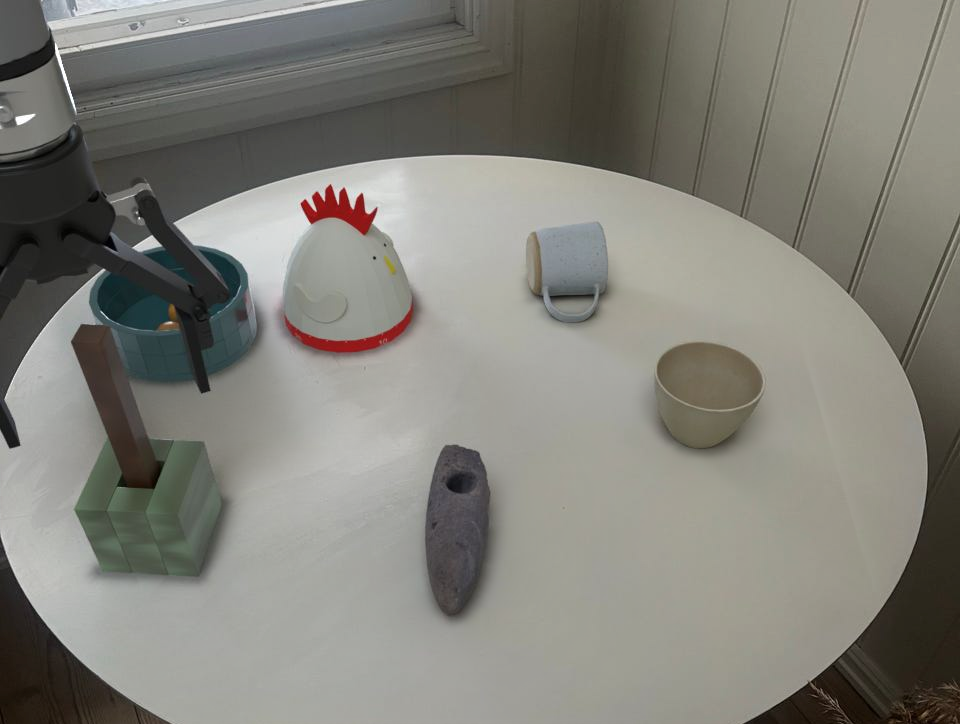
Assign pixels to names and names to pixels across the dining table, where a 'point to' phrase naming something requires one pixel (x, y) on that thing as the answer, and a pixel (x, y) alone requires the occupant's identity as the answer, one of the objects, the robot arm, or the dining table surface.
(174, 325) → the bead
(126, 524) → the holder
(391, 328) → the kitchen timer
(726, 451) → the dining table surface
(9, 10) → the robot arm
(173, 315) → the bead
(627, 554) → the dining table surface
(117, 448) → the stick
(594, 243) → the ceramic mug
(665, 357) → the small beige bowl
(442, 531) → the perforated stone tool
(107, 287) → the bowl
